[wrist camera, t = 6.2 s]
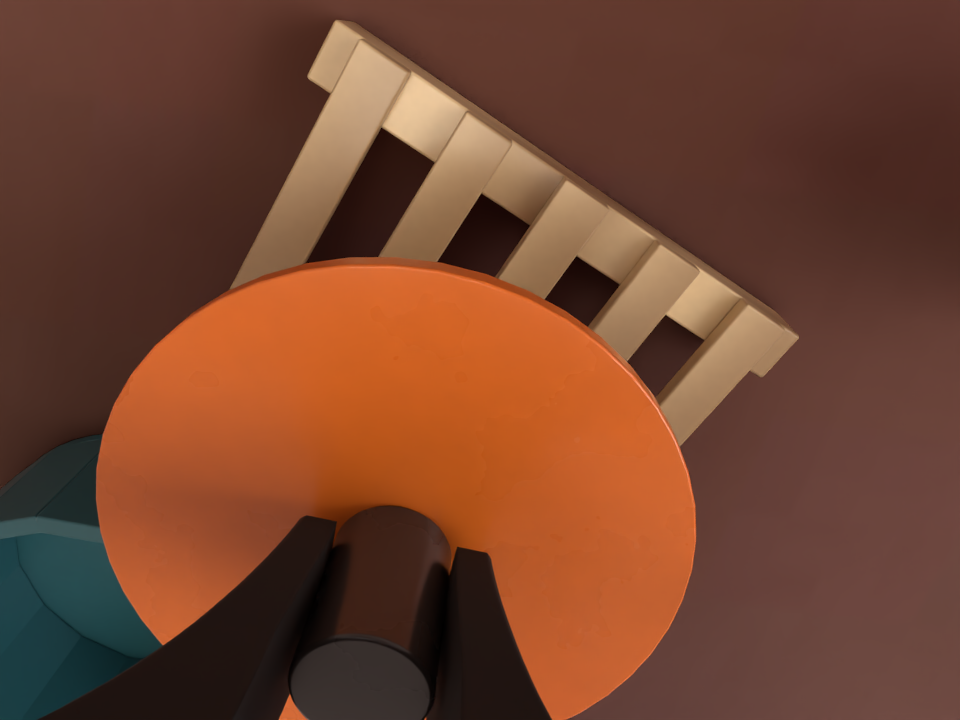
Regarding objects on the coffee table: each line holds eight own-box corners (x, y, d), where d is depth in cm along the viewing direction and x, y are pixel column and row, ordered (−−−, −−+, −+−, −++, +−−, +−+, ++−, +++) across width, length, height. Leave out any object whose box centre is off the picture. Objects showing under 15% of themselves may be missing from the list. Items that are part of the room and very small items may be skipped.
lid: (809, 455, 14) (928, 624, 10) (484, 776, 19) (476, 981, 15) (269, 111, 12) (142, 149, 8) (47, 572, 16) (-107, 749, 12)
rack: (776, 312, 22) (809, 345, 19) (536, 580, 26) (538, 633, 24) (352, 20, 19) (329, 17, 16) (169, 380, 24) (131, 418, 21)
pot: (389, 479, 25) (361, 575, 20) (203, 738, 31) (151, 855, 27) (90, 314, 23) (-14, 381, 18) (-46, 628, 29) (-148, 735, 24)
